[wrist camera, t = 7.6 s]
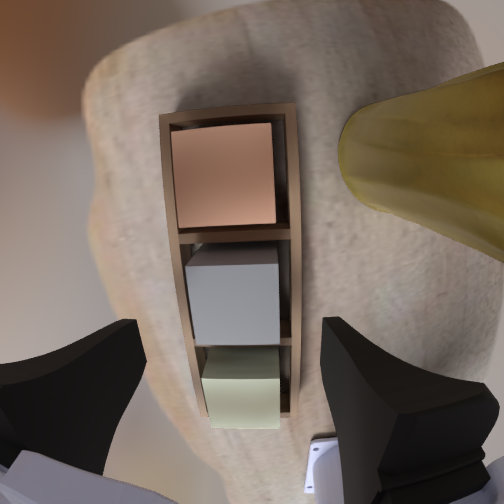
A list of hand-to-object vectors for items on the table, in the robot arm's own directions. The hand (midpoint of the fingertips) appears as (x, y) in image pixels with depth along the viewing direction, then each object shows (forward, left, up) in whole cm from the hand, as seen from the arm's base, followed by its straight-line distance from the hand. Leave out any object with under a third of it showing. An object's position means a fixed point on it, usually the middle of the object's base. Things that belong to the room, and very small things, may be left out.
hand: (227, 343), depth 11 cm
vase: (+7, -8, -7) cm, 13 cm away
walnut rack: (0, 0, -7) cm, 7 cm away
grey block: (0, 0, -7) cm, 7 cm away
